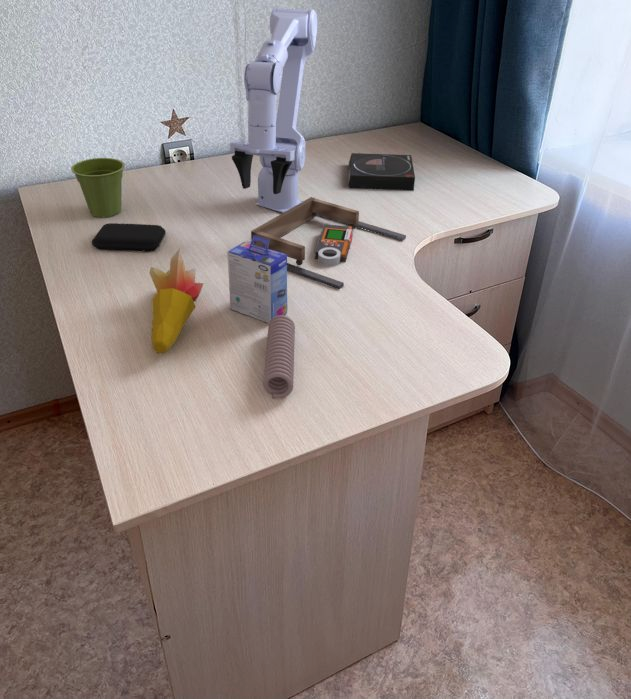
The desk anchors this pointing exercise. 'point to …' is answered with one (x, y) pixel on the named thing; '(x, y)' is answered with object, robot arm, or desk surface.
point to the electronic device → (333, 244)
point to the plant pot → (101, 184)
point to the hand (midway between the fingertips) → (261, 190)
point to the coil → (280, 357)
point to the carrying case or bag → (129, 237)
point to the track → (334, 282)
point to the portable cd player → (381, 172)
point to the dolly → (297, 217)
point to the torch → (172, 301)
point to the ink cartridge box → (257, 280)
